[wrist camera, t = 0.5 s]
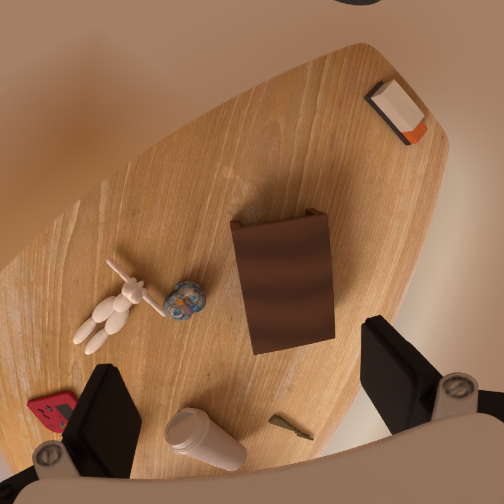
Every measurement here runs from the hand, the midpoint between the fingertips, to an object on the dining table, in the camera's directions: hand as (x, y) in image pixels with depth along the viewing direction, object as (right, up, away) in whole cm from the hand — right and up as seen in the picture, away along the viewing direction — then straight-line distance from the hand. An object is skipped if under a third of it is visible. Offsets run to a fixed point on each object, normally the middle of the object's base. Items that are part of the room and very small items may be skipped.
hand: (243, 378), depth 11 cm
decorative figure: (-29, -12, +34) cm, 46 cm away
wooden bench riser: (+4, +1, +36) cm, 36 cm away
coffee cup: (-3, -36, +42) cm, 55 cm away
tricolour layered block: (+22, +26, +31) cm, 46 cm away
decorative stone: (-10, -2, +35) cm, 36 cm away
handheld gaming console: (-47, -32, +39) cm, 69 cm away
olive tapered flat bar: (+9, -31, +44) cm, 54 cm away
